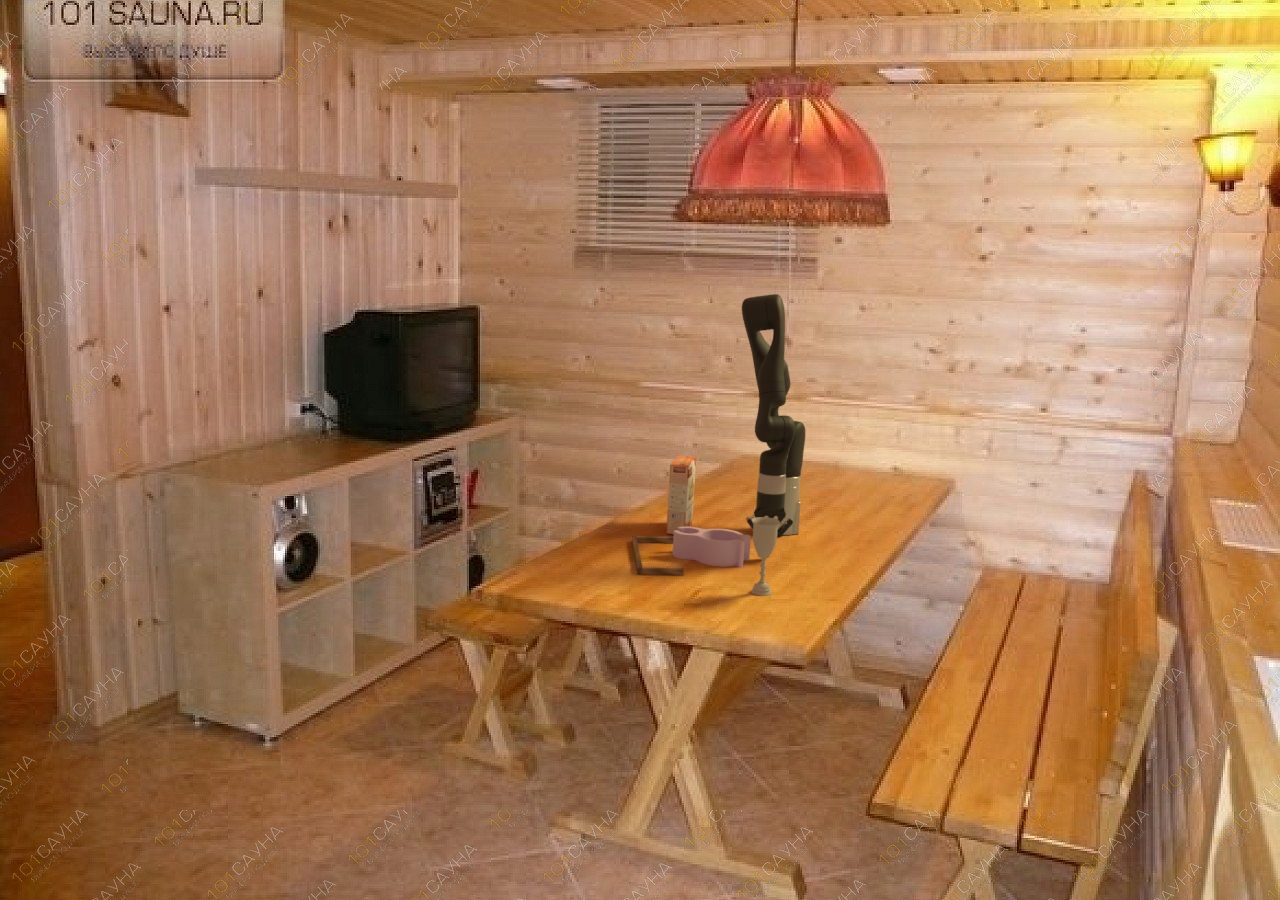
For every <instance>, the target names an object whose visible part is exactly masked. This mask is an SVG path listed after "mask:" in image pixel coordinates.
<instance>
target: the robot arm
mask: <svg viewBox="0 0 1280 900" xmlns="http://www.w3.org/2000/svg"><path fill="white" fill-rule="evenodd" d="M785 311H786V310H785V304H784V302H783V299H782V297H781V295H780V294H778V293H777V294H765V295H764V294H763V295H757V296H751V297H747V298H744V299H743V301H742V304H741V314H742V315H741V316H742V320H743V324H744V329H745V332H746V335H747V339H748V342H749V347H750V351H751V355H752V356H751V357H752V362H753V363H752V364H753V368H754V374H755V375H754V376H755V379H756V386H757V390H758V397H759V398H758V408H757V414H756V420H755V424H754V425H755V426H754V433H755V436H756V438H757V440H758V441H759V442H760V443H766V445H767V447H768V448H769V449H767V450H766V449H765V450H763V451H762V452H761V453H760V455H759V456H760V457H759V466H758V467H759V470H758V478H757V488H756V505H755V509H754V512H753V514H752V515H751V516H747V517H746V518H745V521H746V522H747V524H748V525H749V526H750V527H751V530H753V522H752V519H753V518H758V517H768V518H773V519H777V520H779V521H780V523H779V525H778V530H777V539H778V538H779V539H780V538H782V536H790V535H798V534H799V532H800V518H801V517H800V514H801V501H800V488H801V487H800V486H801V474H802V468H803V467H802V466H803V462H804V451H805V445H806V426H805V424H804V423H803V422H802V421H797V420H794V419H793V418H792V417H791V416H789V415H783V414H782V415H779V408H780V407H782V406H784V405H785V404H786V403H787V395H788V393H789V391H790V389H791V378H790V371H789V366H788V363H787V362H786V360H785V349H786V348H785V347H786V346H785V345H786V315H785V314H786V312H785ZM770 330H772V331H773V332H772V333H773V334H772V340H771V344H770V343H768V342H767V340H766V339H765V337H764V336H763V334H762V333H761V331H770Z"/></svg>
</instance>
